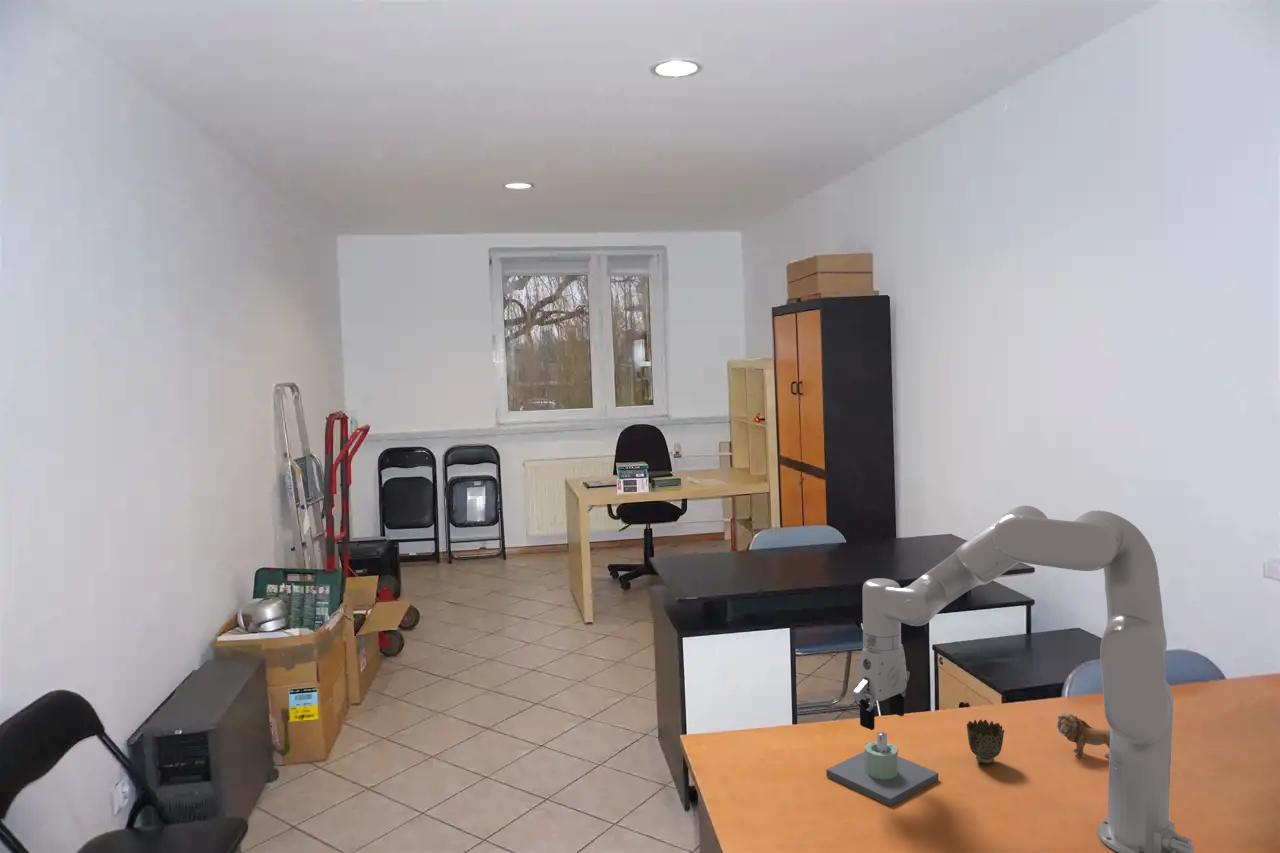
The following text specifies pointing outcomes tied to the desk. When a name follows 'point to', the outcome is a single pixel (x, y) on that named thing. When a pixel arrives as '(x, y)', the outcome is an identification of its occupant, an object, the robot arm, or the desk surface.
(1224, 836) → the desk surface
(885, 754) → the bead
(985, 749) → the cup
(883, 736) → the rod
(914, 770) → the board
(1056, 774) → the desk surface
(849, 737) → the desk surface
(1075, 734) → the lion figurine
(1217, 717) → the desk surface
